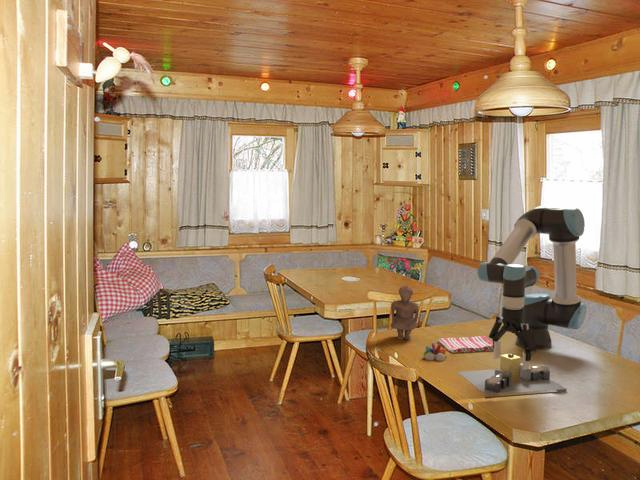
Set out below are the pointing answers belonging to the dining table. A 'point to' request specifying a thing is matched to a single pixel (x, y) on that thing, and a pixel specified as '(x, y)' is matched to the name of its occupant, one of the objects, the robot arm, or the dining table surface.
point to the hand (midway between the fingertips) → (510, 363)
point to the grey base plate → (516, 387)
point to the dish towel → (466, 344)
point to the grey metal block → (535, 373)
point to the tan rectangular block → (511, 365)
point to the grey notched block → (498, 381)
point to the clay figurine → (404, 313)
